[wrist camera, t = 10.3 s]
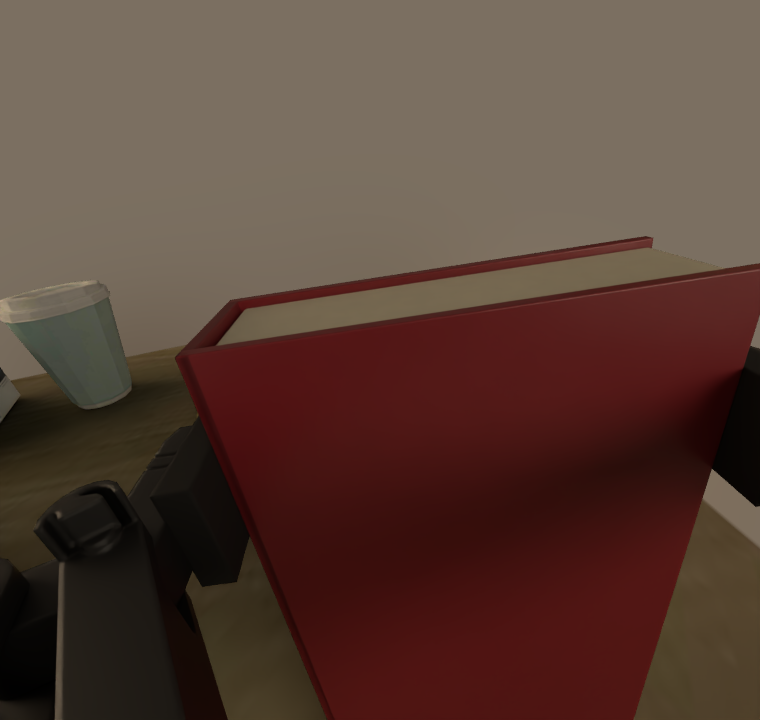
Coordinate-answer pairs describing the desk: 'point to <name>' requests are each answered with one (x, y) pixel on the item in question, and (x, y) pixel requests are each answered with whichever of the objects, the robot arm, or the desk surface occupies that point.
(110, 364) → the disposable coffee cup
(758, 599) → the desk surface
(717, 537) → the desk surface
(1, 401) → the tea box
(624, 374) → the book
